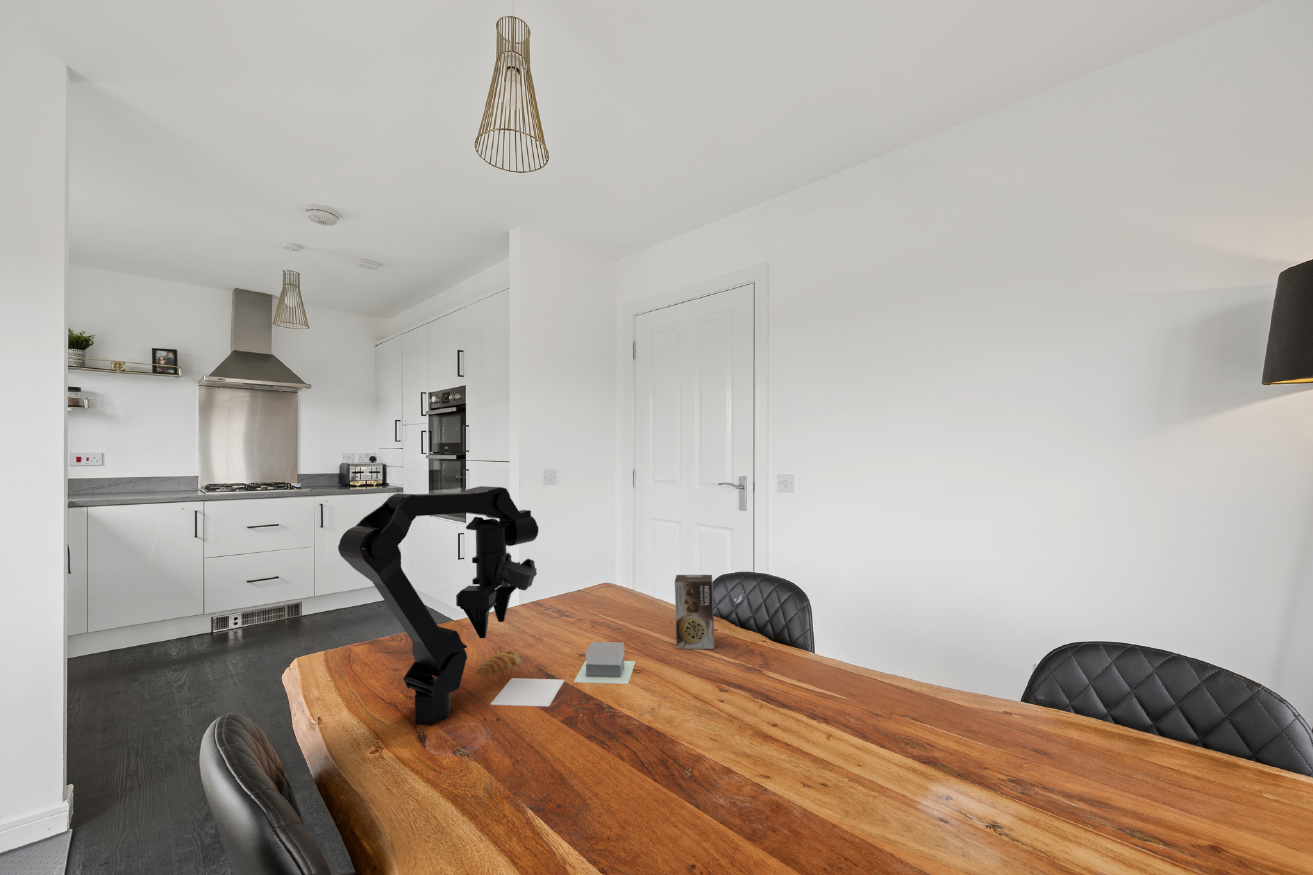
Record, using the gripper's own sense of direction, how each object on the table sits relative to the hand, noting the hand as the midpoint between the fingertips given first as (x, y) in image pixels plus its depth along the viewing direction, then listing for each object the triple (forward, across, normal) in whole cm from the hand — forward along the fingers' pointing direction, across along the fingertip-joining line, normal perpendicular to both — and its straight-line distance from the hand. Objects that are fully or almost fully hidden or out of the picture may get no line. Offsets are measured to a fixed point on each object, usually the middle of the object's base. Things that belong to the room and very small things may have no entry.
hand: (492, 629), depth 107 cm
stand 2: (+12, +8, -21) cm, 26 cm away
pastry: (+13, +10, +2) cm, 16 cm away
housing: (+11, +8, -21) cm, 25 cm away
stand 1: (+12, -2, -8) cm, 15 cm away
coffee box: (+13, +28, -39) cm, 50 cm away
